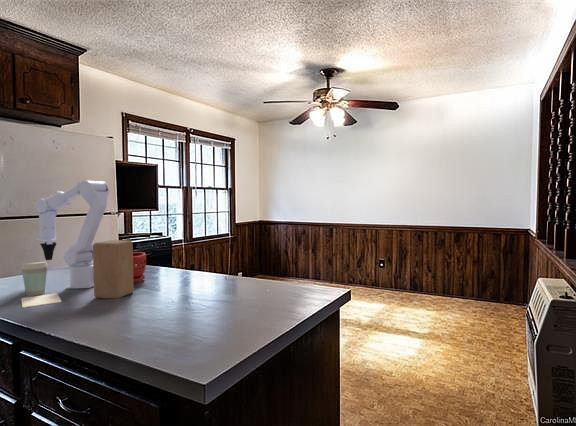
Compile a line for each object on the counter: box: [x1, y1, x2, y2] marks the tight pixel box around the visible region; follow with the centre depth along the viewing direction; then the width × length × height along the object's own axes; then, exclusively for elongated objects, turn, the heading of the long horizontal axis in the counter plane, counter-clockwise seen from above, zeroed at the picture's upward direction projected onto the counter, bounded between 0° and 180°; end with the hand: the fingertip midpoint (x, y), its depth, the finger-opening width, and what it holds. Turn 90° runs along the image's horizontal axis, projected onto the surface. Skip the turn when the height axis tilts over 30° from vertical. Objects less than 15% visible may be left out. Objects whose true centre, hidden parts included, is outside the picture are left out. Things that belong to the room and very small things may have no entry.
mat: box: [20, 293, 63, 309], centre depth 129 cm, size 14×11×1 cm
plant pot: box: [133, 251, 147, 284], centre depth 159 cm, size 13×13×12 cm
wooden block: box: [92, 239, 135, 300], centre depth 136 cm, size 10×10×20 cm
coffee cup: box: [20, 260, 49, 297], centre depth 139 cm, size 9×8×12 cm
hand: (48, 259), depth 154 cm, fingers closed
